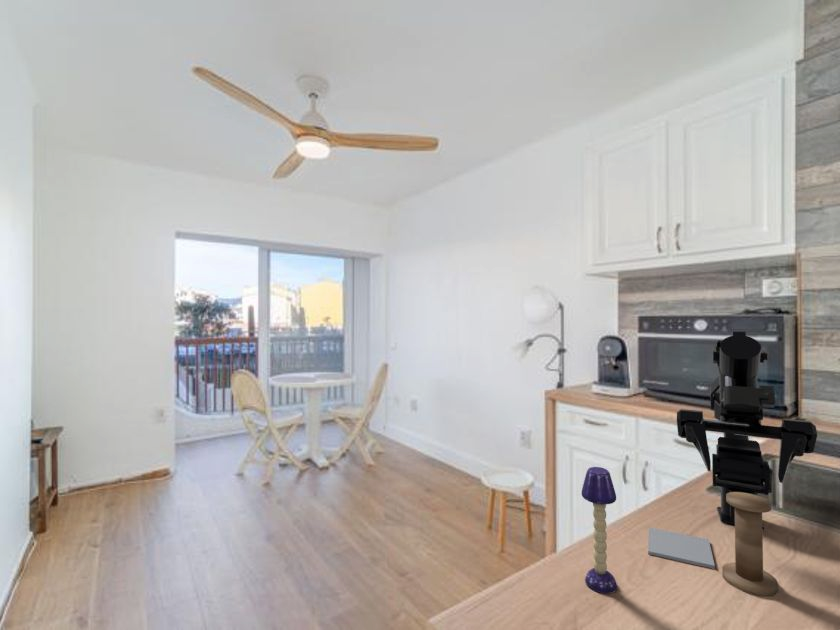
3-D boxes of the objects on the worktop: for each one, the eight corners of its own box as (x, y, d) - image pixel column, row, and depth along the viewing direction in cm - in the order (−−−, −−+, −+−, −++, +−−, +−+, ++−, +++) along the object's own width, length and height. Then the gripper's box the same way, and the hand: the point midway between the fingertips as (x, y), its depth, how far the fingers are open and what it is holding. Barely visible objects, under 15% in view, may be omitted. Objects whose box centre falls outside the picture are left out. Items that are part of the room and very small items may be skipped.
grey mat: (649, 530, 78) (649, 527, 78) (708, 542, 74) (708, 539, 74) (648, 554, 70) (648, 550, 70) (714, 569, 66) (714, 565, 66)
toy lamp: (621, 597, 59) (619, 476, 59) (585, 593, 60) (584, 474, 60) (613, 577, 64) (611, 464, 64) (580, 573, 65) (578, 462, 65)
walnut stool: (719, 565, 67) (718, 487, 67) (772, 576, 64) (770, 495, 64) (725, 587, 61) (724, 503, 61) (783, 601, 58) (781, 512, 58)
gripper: (676, 364, 78) (673, 439, 69) (813, 370, 68) (831, 459, 59) (679, 400, 85) (677, 473, 76) (805, 411, 75) (820, 497, 65)
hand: (743, 475), depth 69 cm, fingers open, 9 cm apart
